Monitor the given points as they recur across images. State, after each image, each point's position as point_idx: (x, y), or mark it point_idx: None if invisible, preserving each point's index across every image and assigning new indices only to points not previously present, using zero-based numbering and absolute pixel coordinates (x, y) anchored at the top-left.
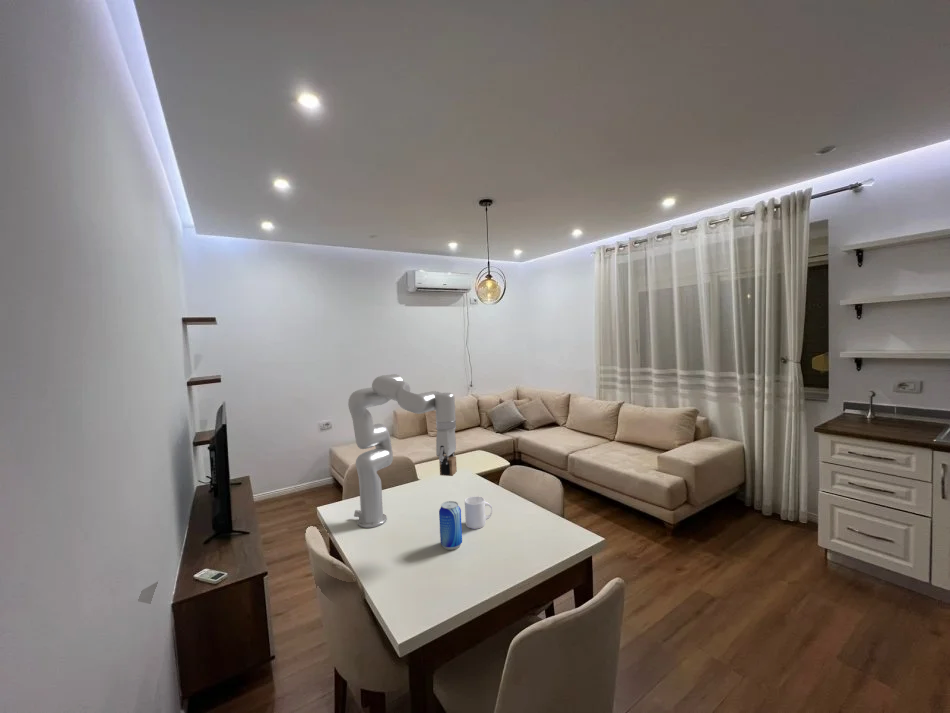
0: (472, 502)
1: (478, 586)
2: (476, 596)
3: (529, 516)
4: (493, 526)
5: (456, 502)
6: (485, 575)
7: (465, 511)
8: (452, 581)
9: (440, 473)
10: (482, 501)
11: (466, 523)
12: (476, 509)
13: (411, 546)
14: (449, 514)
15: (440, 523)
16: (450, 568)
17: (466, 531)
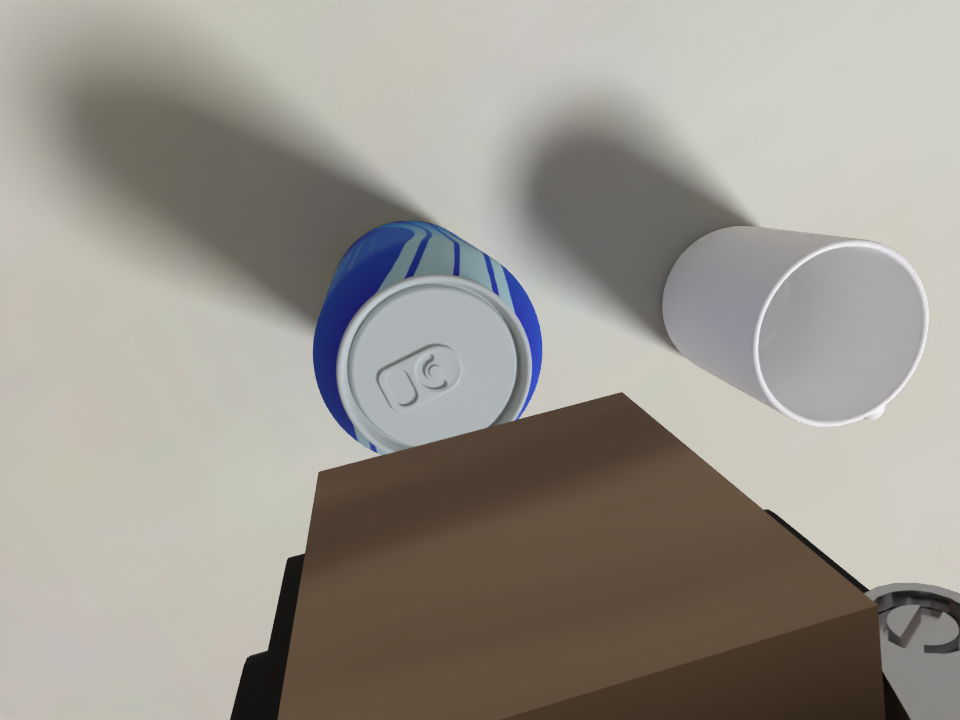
0: (869, 266)
1: (110, 666)
2: (30, 700)
3: (924, 555)
4: (738, 420)
5: (515, 409)
6: (218, 647)
7: (735, 261)
8: (64, 528)
9: (318, 504)
10: (881, 365)
11: (685, 259)
12: (741, 381)
13: (253, 18)
14: (334, 416)
15: (333, 281)
16: (168, 445)
17: (615, 289)
